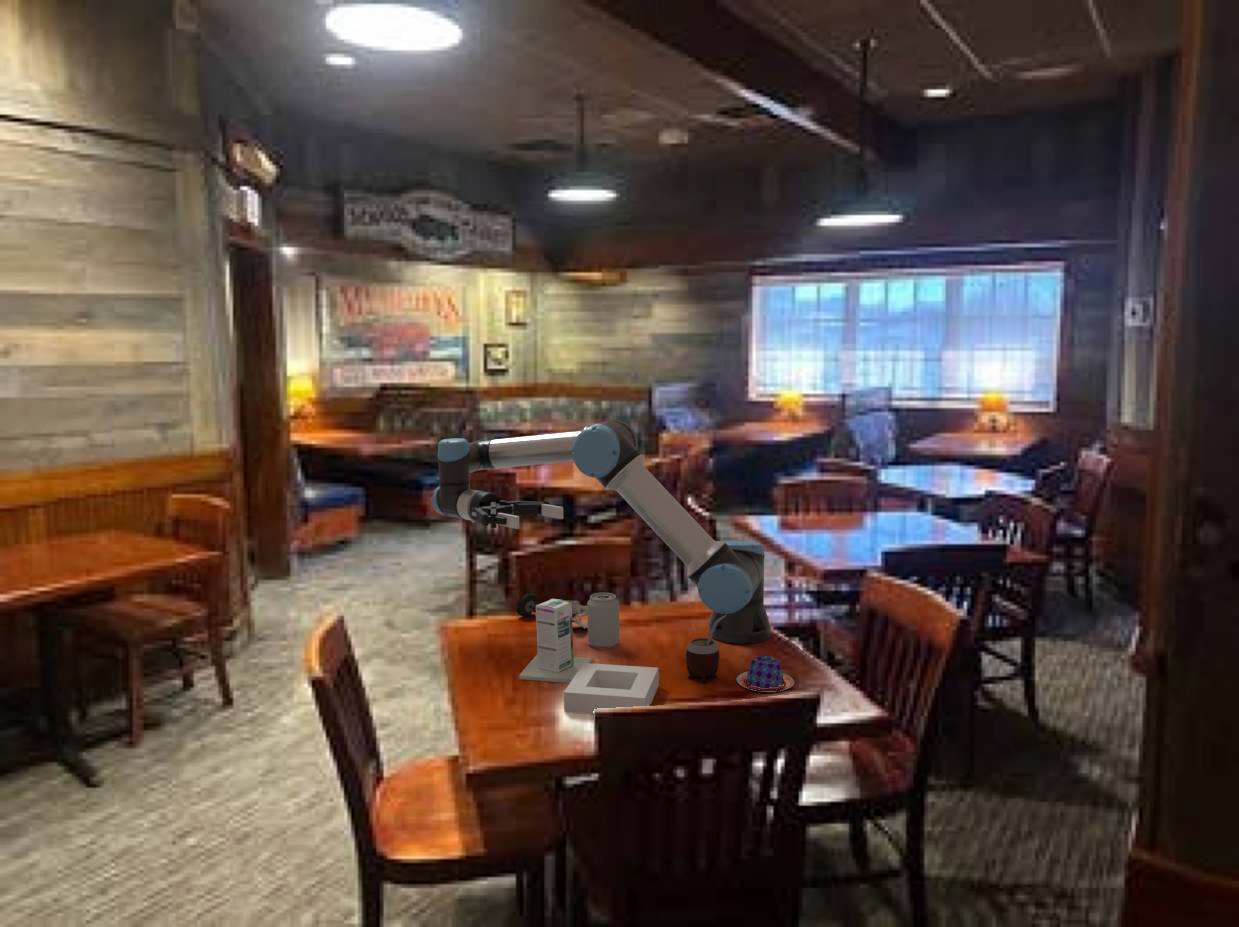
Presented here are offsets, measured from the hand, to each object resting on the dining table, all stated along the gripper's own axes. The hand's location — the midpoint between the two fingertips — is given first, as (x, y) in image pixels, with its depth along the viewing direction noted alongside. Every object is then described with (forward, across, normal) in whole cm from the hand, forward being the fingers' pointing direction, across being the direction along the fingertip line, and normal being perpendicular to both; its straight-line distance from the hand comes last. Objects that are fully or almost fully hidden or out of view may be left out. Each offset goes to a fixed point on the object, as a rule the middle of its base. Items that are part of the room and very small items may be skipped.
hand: (540, 517), depth 202 cm
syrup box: (+10, +6, -31) cm, 33 cm away
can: (+6, -14, -32) cm, 35 cm away
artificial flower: (-14, -18, -32) cm, 39 cm away
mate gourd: (+37, -12, -32) cm, 51 cm away
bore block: (+29, +9, -32) cm, 44 cm away
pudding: (+48, -18, -32) cm, 61 cm away
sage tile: (+10, +5, -32) cm, 34 cm away
